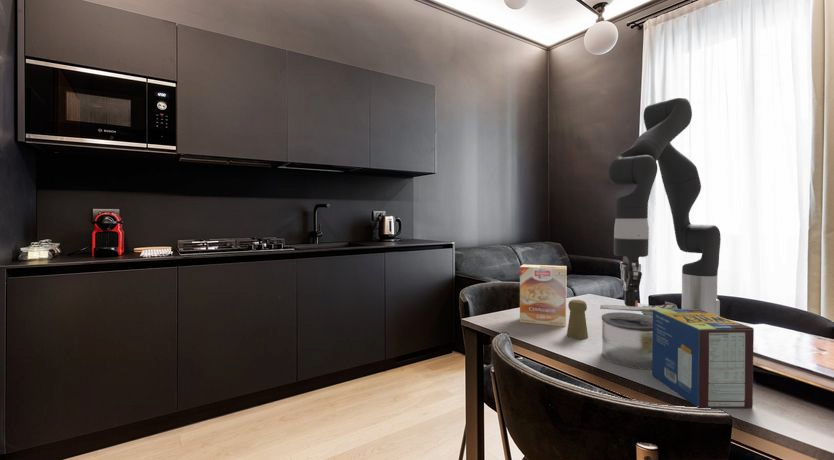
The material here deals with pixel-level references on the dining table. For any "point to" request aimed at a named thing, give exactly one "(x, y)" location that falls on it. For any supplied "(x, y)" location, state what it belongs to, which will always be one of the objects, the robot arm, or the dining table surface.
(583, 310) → the cork
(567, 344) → the dining table surface
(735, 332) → the protein box
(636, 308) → the cooker lid
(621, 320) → the cooker pot
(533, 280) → the coffeecake box
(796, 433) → the dining table surface
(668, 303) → the food container
